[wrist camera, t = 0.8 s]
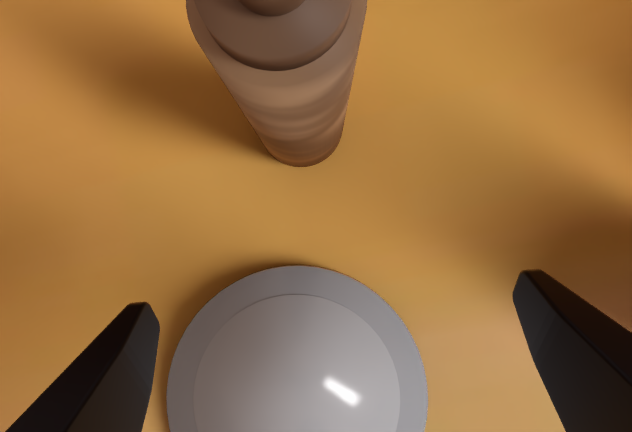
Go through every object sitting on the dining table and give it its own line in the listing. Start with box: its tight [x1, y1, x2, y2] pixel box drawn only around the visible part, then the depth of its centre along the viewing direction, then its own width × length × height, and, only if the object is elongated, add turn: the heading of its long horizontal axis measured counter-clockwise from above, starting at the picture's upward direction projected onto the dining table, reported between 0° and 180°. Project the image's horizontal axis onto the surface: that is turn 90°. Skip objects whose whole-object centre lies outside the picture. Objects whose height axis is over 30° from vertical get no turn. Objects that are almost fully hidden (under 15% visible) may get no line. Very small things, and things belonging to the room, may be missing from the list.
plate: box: [167, 265, 428, 432], centre depth 22 cm, size 14×14×1 cm
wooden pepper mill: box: [186, 0, 367, 167], centre depth 16 cm, size 5×5×15 cm
